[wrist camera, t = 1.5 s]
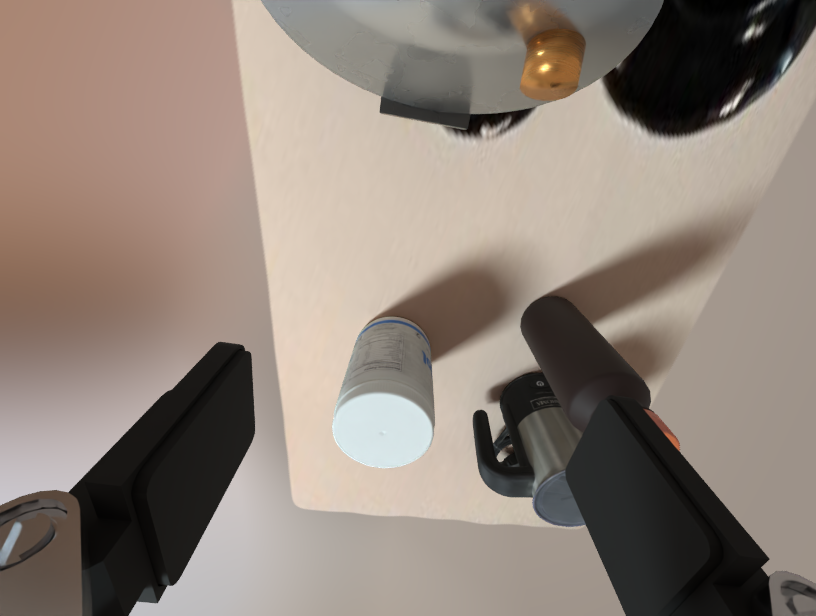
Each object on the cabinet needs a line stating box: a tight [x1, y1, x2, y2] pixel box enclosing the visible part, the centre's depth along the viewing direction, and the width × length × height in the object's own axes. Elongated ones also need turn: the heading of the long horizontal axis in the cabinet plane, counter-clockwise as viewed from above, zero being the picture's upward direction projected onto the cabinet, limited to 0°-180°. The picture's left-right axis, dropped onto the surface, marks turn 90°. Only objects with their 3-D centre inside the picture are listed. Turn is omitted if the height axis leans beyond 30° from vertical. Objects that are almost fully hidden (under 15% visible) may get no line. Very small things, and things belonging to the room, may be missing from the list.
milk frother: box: [473, 373, 586, 527], centre depth 43 cm, size 14×16×15 cm
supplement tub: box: [332, 317, 435, 468], centre depth 38 cm, size 10×10×15 cm
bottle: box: [520, 297, 680, 452], centre depth 34 cm, size 7×7×20 cm
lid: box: [261, 0, 664, 114], centre depth 15 cm, size 16×16×3 cm
